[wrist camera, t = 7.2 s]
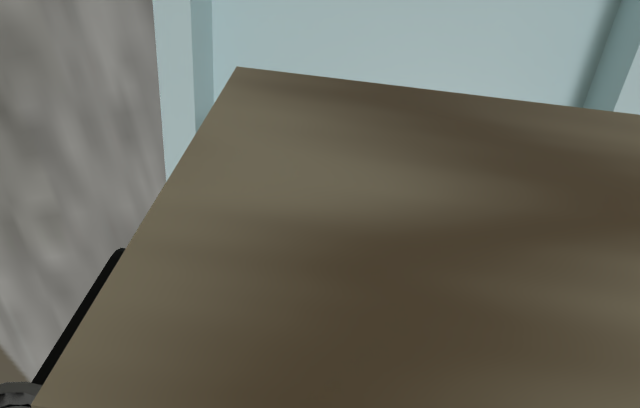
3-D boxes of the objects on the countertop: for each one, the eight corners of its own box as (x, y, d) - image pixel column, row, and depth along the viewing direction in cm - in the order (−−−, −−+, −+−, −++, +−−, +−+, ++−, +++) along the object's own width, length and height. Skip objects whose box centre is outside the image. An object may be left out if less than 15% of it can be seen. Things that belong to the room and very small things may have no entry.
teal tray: (737, -237, 17) (809, -246, 14) (560, 224, 26) (580, 278, 23) (174, -291, 17) (129, -308, 14) (194, 177, 26) (169, 223, 23)
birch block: (649, 115, 9) (997, 545, 4) (531, 387, 12) (627, 803, 7) (237, 67, 9) (31, 404, 4) (235, 346, 12) (124, 719, 7)
